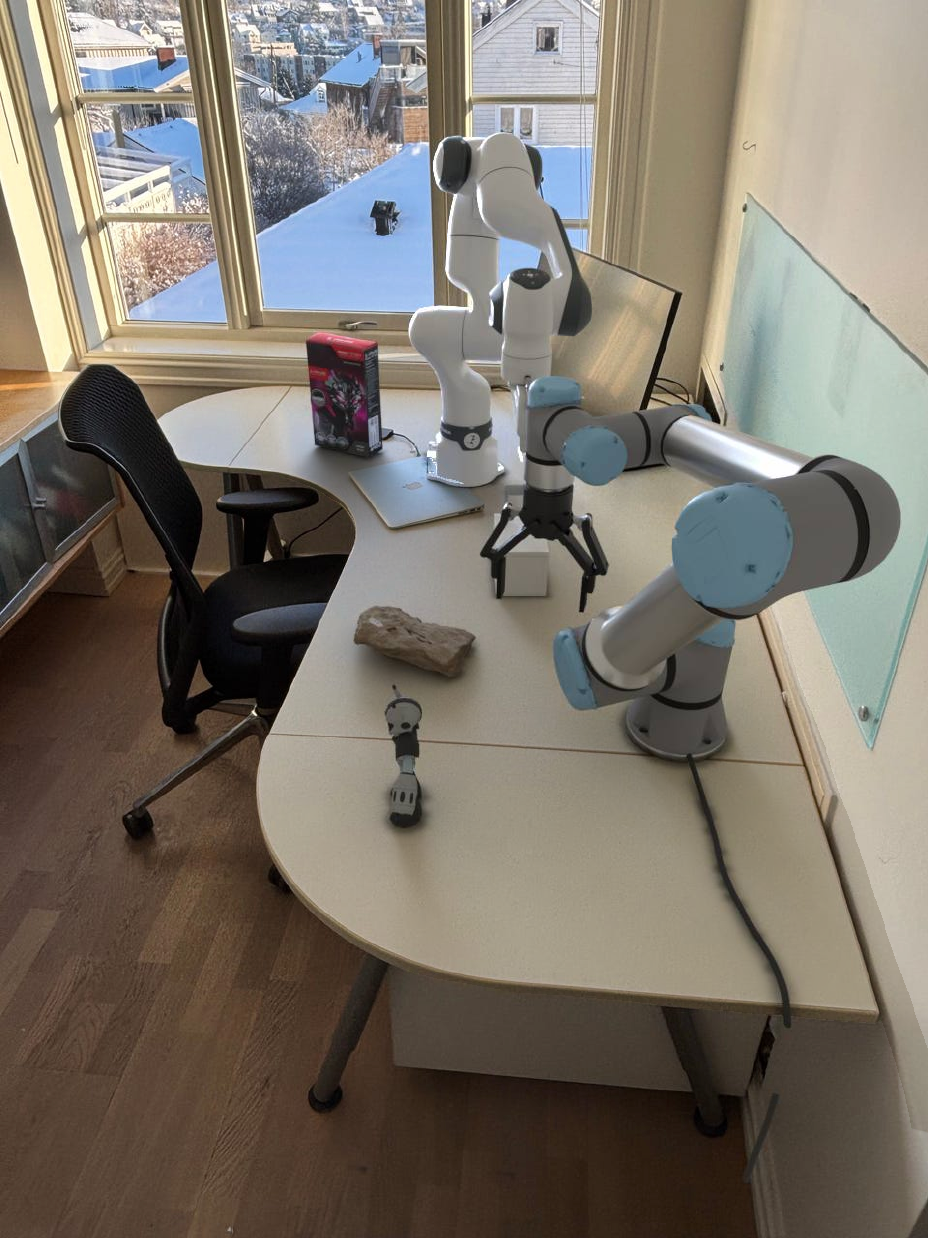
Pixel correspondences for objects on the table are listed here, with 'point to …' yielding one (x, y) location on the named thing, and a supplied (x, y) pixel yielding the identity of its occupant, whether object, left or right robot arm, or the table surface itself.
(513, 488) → the lid
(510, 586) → the chest
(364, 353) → the graphics card box
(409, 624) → the stone
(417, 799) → the robot
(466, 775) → the table surface
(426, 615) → the table surface
